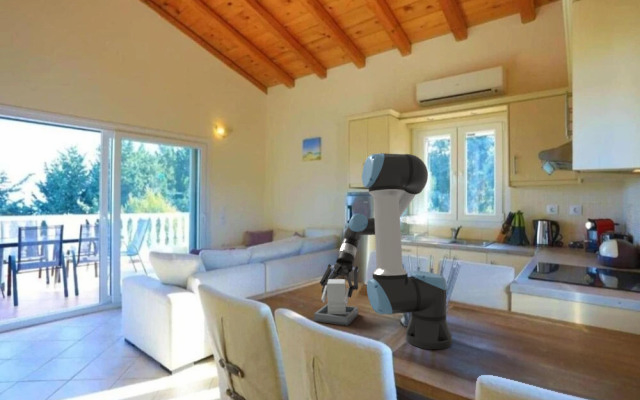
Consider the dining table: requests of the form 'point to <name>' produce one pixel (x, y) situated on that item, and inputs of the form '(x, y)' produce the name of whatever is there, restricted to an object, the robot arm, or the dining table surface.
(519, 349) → the dining table surface
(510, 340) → the dining table surface
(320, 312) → the holder tray
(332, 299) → the supplement box
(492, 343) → the dining table surface
